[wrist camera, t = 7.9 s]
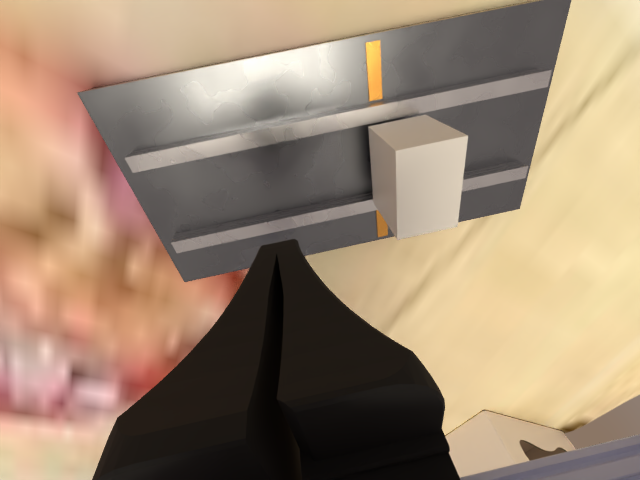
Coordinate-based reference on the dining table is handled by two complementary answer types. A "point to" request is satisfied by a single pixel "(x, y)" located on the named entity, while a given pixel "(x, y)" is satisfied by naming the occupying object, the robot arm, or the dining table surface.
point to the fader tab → (417, 174)
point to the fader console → (326, 131)
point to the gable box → (501, 443)
